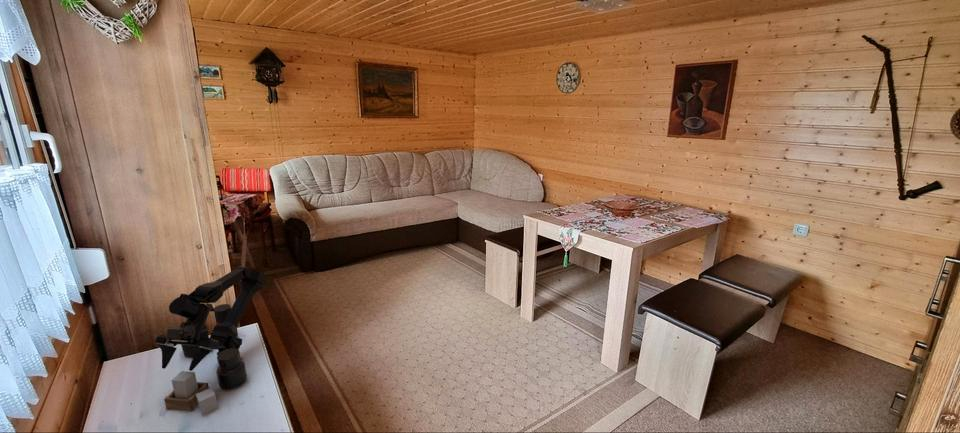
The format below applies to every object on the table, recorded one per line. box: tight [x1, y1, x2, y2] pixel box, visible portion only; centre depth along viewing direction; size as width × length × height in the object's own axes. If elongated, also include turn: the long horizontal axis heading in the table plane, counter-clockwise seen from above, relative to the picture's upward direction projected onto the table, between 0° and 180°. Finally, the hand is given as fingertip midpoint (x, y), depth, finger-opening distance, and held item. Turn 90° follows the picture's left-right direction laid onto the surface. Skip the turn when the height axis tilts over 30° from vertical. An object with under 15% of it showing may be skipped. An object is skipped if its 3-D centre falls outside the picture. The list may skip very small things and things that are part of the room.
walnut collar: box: [163, 381, 210, 412], centre depth 137 cm, size 9×9×4 cm
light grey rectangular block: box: [170, 370, 199, 399], centre depth 136 cm, size 4×4×10 cm
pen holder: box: [181, 323, 210, 358], centre depth 161 cm, size 9×9×10 cm
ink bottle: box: [215, 348, 248, 391], centre depth 144 cm, size 10×9×12 cm
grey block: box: [196, 387, 219, 416], centre depth 134 cm, size 4×4×6 cm
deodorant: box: [213, 303, 232, 326], centre depth 168 cm, size 6×6×15 cm
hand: (176, 369), depth 132 cm, fingers open, 9 cm apart
